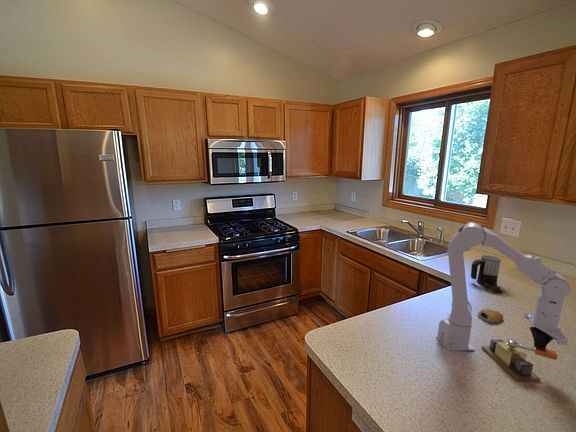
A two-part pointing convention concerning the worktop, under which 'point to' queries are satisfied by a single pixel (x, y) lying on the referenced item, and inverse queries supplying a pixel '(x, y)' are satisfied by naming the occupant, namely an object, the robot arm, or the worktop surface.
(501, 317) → the pastry
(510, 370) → the plank
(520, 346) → the lever
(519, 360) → the valve
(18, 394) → the worktop surface
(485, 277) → the milk frother
